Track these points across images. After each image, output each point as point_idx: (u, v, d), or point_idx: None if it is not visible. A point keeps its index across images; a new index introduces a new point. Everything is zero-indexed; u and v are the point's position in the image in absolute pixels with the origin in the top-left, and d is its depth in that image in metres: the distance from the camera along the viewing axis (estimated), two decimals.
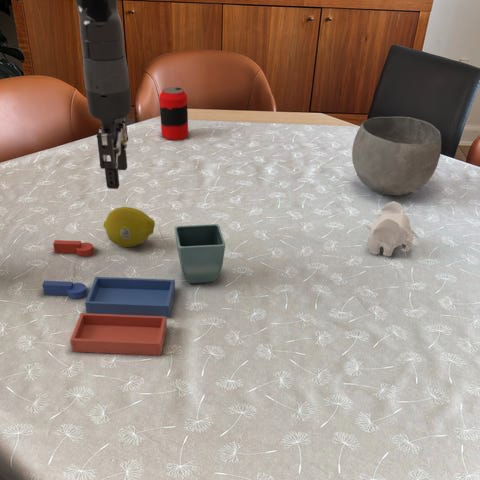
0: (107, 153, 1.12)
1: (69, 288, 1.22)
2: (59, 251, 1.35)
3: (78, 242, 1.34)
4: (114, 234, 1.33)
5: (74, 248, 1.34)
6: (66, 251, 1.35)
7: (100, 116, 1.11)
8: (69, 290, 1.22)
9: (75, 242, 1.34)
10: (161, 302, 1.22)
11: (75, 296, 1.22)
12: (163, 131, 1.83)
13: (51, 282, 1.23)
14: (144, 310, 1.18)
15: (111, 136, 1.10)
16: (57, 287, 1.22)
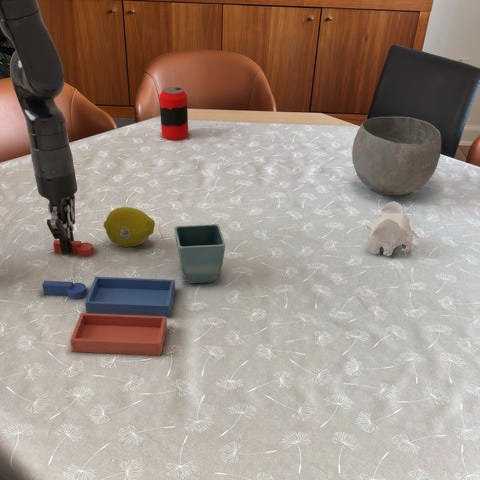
0: (58, 232, 1.27)
1: (69, 288, 1.22)
2: (59, 251, 1.35)
3: (78, 242, 1.34)
4: (114, 234, 1.33)
5: (74, 248, 1.34)
6: None
7: (47, 196, 1.24)
8: (69, 290, 1.22)
9: (75, 242, 1.34)
10: (161, 302, 1.22)
11: (75, 296, 1.22)
12: (163, 131, 1.83)
13: (51, 282, 1.23)
14: (144, 310, 1.18)
15: (59, 223, 1.25)
16: (57, 287, 1.22)
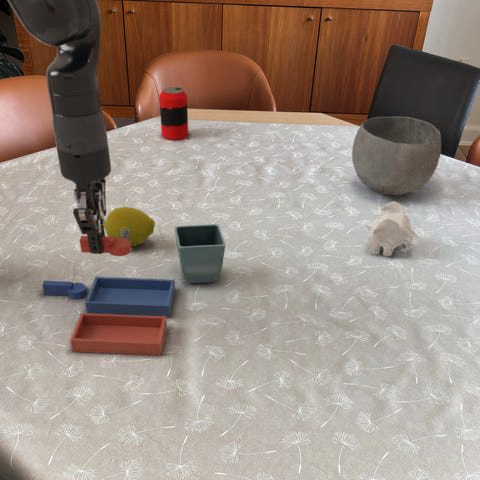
0: (88, 226, 0.99)
1: (69, 288, 1.22)
2: (87, 250, 1.07)
3: (111, 238, 1.06)
4: (114, 234, 1.33)
5: (106, 246, 1.06)
6: None
7: (74, 178, 0.95)
8: (69, 290, 1.22)
9: (107, 238, 1.06)
10: (161, 302, 1.22)
11: (75, 296, 1.22)
12: (163, 131, 1.83)
13: (51, 282, 1.23)
14: (144, 310, 1.18)
15: (90, 214, 0.97)
16: (57, 287, 1.22)
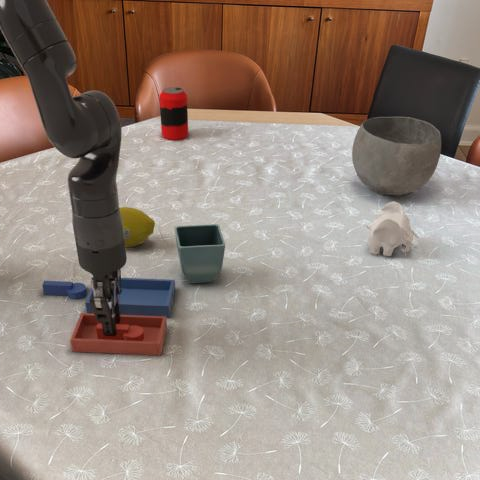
0: (102, 313, 1.03)
1: (69, 288, 1.22)
2: (103, 337, 1.13)
3: (126, 326, 1.12)
4: None
5: (121, 333, 1.12)
6: (111, 337, 1.12)
7: (92, 270, 1.00)
8: (69, 290, 1.22)
9: (122, 326, 1.12)
10: (161, 302, 1.22)
11: (75, 296, 1.22)
12: (163, 131, 1.83)
13: (51, 282, 1.23)
14: (144, 310, 1.18)
15: (105, 302, 1.01)
16: (57, 287, 1.22)
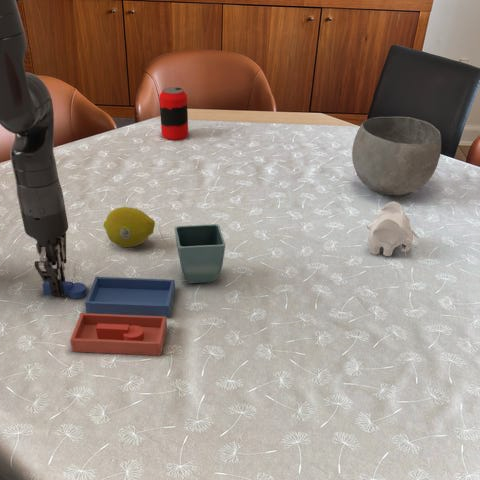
0: (48, 275, 1.16)
1: (69, 288, 1.22)
2: (103, 337, 1.13)
3: (126, 326, 1.12)
4: (114, 234, 1.33)
5: (121, 333, 1.12)
6: (111, 337, 1.12)
7: (35, 236, 1.12)
8: (69, 290, 1.22)
9: (122, 326, 1.12)
10: (161, 302, 1.22)
11: (75, 296, 1.22)
12: (163, 131, 1.83)
13: None
14: (144, 310, 1.18)
15: (48, 266, 1.13)
16: None
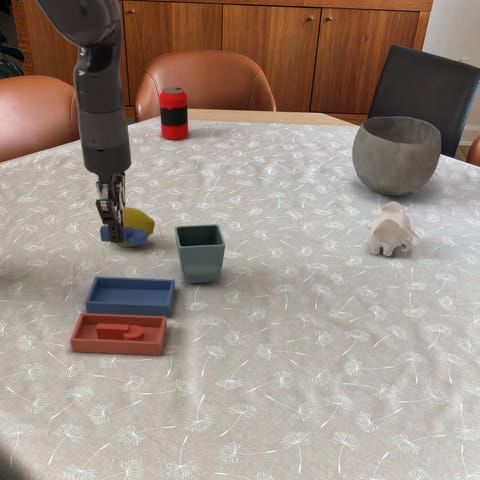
0: (109, 216, 1.05)
1: (129, 234, 1.12)
2: (103, 337, 1.13)
3: (126, 326, 1.12)
4: None
5: (121, 333, 1.12)
6: (111, 337, 1.12)
7: (97, 171, 1.02)
8: (129, 236, 1.12)
9: (122, 326, 1.12)
10: (161, 302, 1.22)
11: (135, 242, 1.12)
12: (163, 131, 1.83)
13: None
14: (144, 310, 1.18)
15: (111, 204, 1.03)
16: None
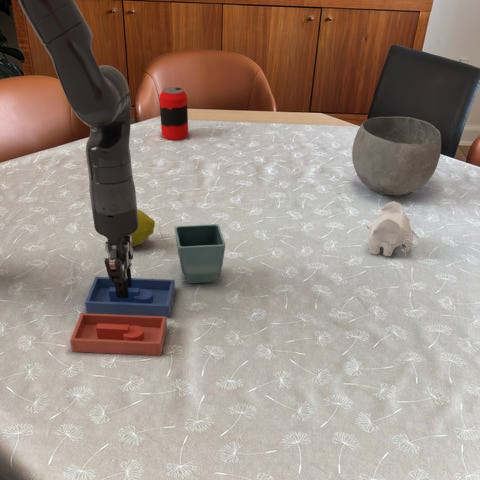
0: (116, 274, 1.12)
1: (136, 295, 1.20)
2: (103, 337, 1.13)
3: (126, 326, 1.12)
4: None
5: (121, 333, 1.12)
6: (111, 337, 1.12)
7: (106, 234, 1.09)
8: (136, 297, 1.20)
9: (122, 326, 1.12)
10: (161, 302, 1.22)
11: None
12: (163, 131, 1.83)
13: None
14: (144, 310, 1.18)
15: (119, 263, 1.10)
16: None
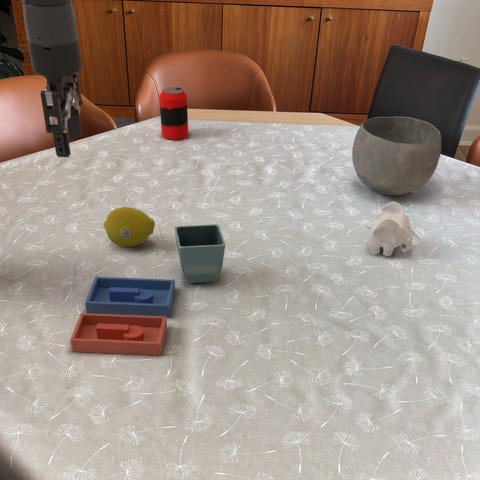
0: (53, 115, 0.99)
1: (136, 295, 1.20)
2: (103, 337, 1.13)
3: (126, 326, 1.12)
4: (114, 234, 1.33)
5: (121, 333, 1.12)
6: (111, 337, 1.12)
7: (45, 72, 0.98)
8: (136, 297, 1.20)
9: (122, 326, 1.12)
10: (161, 302, 1.22)
11: None
12: (163, 131, 1.83)
13: (117, 288, 1.21)
14: (144, 310, 1.18)
15: (57, 95, 0.97)
16: (124, 294, 1.20)
